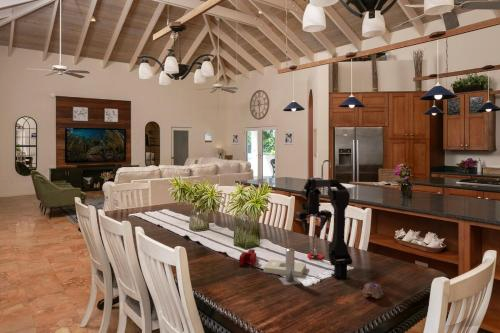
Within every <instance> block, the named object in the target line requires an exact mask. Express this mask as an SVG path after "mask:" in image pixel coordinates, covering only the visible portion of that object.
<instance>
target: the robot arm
mask: <svg viewBox="0 0 500 333" xmlns="http://www.w3.org/2000/svg"><path fill="white" fill-rule="evenodd" d="M322 188H327V191H326V193H327V196H328V198H329V199H330V205H331V206H332V208H333V214H332V211H330V210H327V209H323V210H320V207H321V203H320V200H321V199H320V198H321V197H320V195H322V192H321V190H320V189H322ZM332 188H336V190H335V189H334V190H332ZM300 196H301V197H302V198H304V199H306V200H307V202H306V204H305V203H303V204H300V205H299V206H300V207H299V208H300V211H296V212H295V214H294V215H295V216H294V217H295V218H296V219H298V220H300V222H301V224H302V227H303V230H304V232H307V229H308V228H307V227H308V219H307V218H309V217H311V218H313V217H319V218H320V223H319V229H320V231H323V229H324V227H325V225H326V223H327V221H328V220H330V218H332V217H333V233H332V234H333V239H332V241H331V242H328V258H329V263H330V265H331V266H333V272H334V273H331V274H330V275H331V276H332V277H333V278H334V279H336V280H337V281H341V280H342V281H343V280H350V279H351V277H350V276H349V275H348V265H352V263H353V259H352V257H351V254H350V253H349V247H348V244H347V243H346V241H345V229H346V228H345V226H346V225H345V224H346V209H347V208H348V206H349V205H350V204H349V203H350V197H351V195H350V192H349V190H348V189H347V187H346V186H344V185H343V184H342V183H341V182H340V180H339V179H336V178H328V179H323V178H321V177H308V178H307V180H306V182H305V184H304V186H303V189H302V190H301V192H300Z"/></svg>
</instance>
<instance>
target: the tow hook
mask: <svg viewBox="0 0 500 333" xmlns="http://www.w3.org/2000/svg"><path fill="white" fill-rule="evenodd" d="M317 237H318V236H317V234H315V236H314V250H313V253H308V254H307V256H306V257H307V258H308V259H309V260H314V261H323V258H324V255H323V254H321V253H318V250H317V249H318V239H317Z"/></svg>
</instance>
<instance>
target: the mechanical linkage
mask: <svg viewBox="0 0 500 333" xmlns="http://www.w3.org/2000/svg"><path fill="white" fill-rule="evenodd" d="M245 263H246V264H249V267H255V265H256V263H257V252H256V251H255V249H253V248H252V249H251V248H249V249H248V251H247V252H246V251H244V252H242V253H241V254H240V255H239V259H238V265H239V266H240V267H241V266H242V267H243V266H244V265H245Z"/></svg>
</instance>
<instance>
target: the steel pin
mask: <svg viewBox="0 0 500 333" xmlns="http://www.w3.org/2000/svg"><path fill="white" fill-rule="evenodd" d="M295 251H296V250H295V248H291V247H290V248H286V249H285V261H286V275H285V277H286V281H287V282H294V277H295V276H294V262H295Z"/></svg>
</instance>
